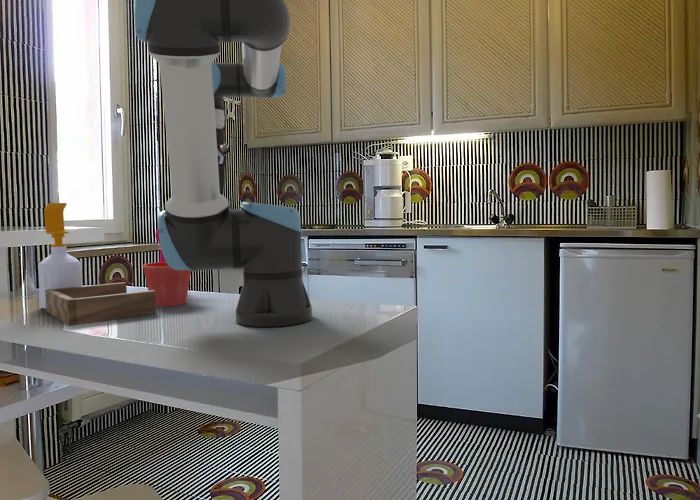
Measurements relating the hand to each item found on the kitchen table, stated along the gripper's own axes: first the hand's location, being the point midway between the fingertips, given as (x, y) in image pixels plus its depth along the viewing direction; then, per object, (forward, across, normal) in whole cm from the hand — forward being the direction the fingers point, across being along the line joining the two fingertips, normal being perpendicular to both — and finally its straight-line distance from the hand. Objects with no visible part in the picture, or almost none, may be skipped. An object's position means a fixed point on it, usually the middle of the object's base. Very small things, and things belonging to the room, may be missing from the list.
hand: (213, 224), depth 147 cm
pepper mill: (+19, +15, +6) cm, 25 cm away
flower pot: (+19, 0, +12) cm, 22 cm away
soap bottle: (+19, +16, +32) cm, 40 cm away
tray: (+18, 0, +27) cm, 33 cm away
